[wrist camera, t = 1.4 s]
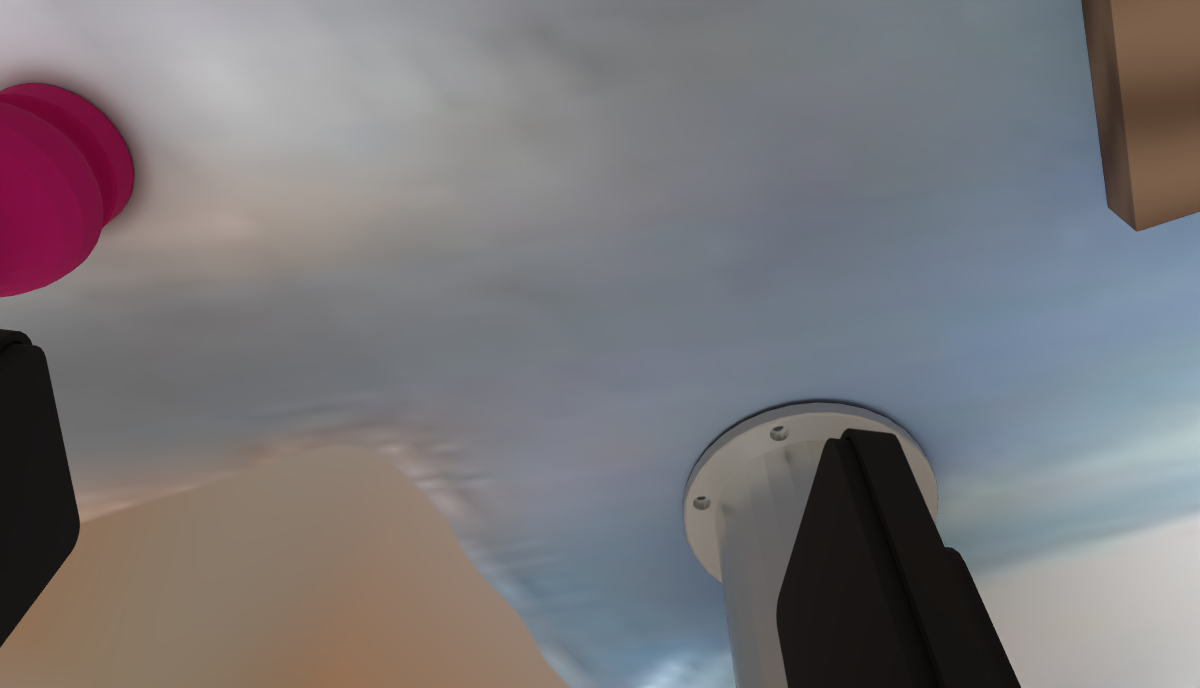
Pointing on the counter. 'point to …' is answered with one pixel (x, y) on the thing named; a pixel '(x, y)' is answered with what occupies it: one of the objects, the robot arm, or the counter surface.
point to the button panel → (1147, 105)
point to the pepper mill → (55, 183)
